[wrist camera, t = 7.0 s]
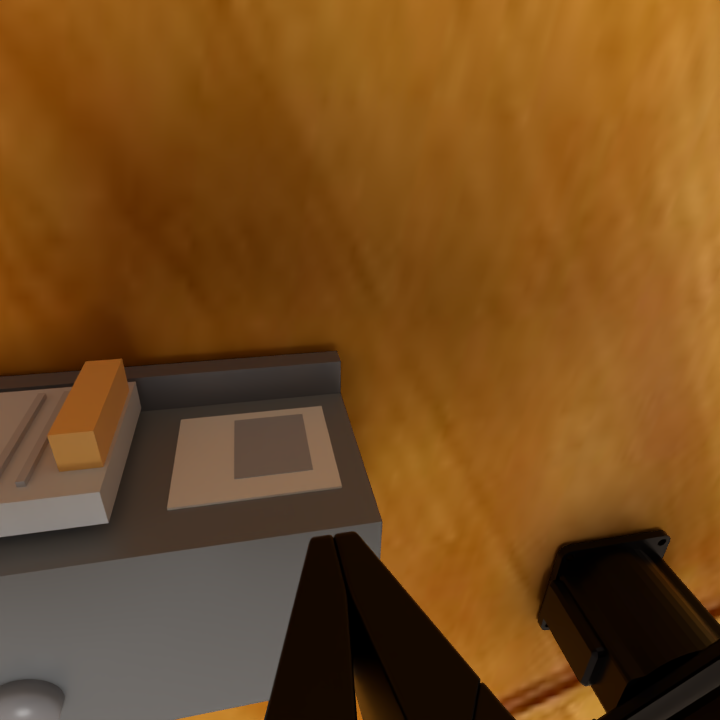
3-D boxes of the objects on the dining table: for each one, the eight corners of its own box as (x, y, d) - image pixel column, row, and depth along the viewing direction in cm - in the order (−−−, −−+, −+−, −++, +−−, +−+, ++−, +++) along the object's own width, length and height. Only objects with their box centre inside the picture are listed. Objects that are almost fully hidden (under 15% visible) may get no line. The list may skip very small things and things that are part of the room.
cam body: (336, 350, 19) (390, 500, 12) (336, 518, 23) (377, 698, 16) (-88, 383, 16) (-308, 595, 10) (-3, 566, 20) (-117, 802, 14)
